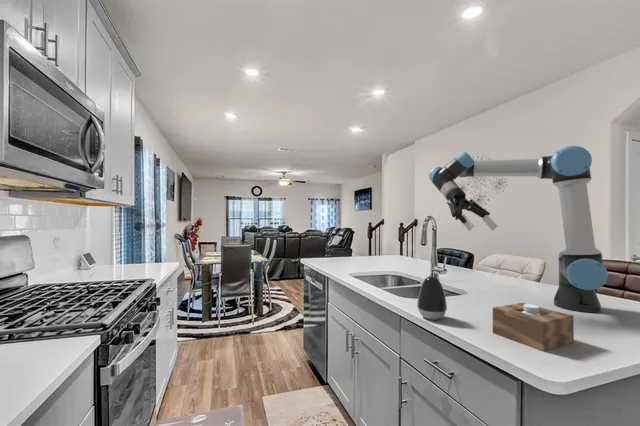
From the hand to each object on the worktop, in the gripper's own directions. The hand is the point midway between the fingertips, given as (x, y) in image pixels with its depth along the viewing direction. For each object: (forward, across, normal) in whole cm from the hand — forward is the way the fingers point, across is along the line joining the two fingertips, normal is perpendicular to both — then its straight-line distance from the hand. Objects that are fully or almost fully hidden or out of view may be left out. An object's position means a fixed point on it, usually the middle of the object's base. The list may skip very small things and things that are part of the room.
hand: (483, 228), depth 124 cm
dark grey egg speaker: (+22, +26, -24) cm, 42 cm away
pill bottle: (+41, +12, -5) cm, 43 cm away
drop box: (+41, +12, -5) cm, 43 cm away
